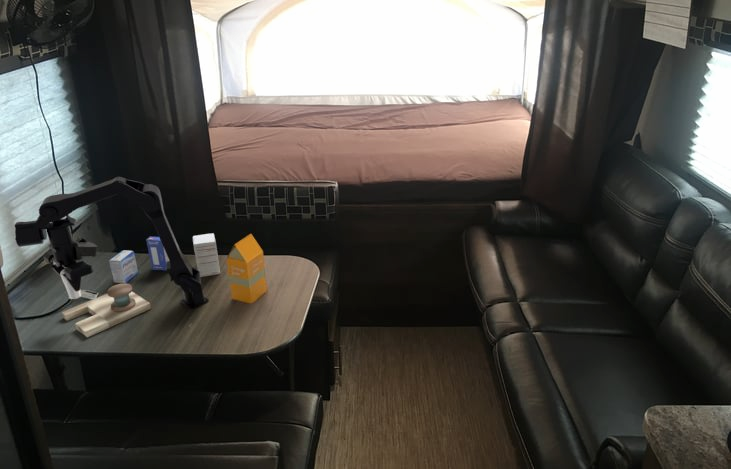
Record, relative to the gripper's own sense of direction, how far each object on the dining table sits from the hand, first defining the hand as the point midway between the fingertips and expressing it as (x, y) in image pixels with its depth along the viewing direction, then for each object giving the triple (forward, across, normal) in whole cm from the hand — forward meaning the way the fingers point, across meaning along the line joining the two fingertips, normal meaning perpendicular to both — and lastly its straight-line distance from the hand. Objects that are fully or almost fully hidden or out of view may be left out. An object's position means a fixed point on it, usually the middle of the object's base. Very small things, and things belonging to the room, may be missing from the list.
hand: (74, 288), depth 165 cm
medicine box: (+11, +15, -22) cm, 29 cm away
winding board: (+11, -2, -6) cm, 13 cm away
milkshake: (+3, 0, 0) cm, 3 cm away
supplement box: (+12, -3, -42) cm, 44 cm away
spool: (+9, -5, -10) cm, 15 cm away
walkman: (+11, +11, -34) cm, 37 cm away
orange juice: (+12, -27, -42) cm, 51 cm away
